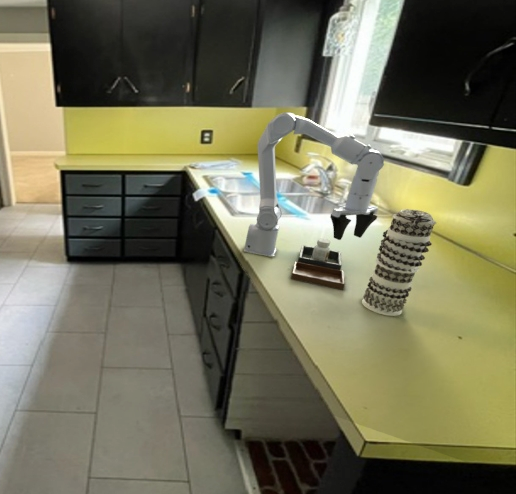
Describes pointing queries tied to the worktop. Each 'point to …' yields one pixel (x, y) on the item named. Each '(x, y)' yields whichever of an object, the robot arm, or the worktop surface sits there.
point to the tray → (318, 275)
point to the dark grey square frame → (309, 251)
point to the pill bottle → (321, 250)
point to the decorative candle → (398, 261)
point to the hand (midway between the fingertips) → (347, 237)
